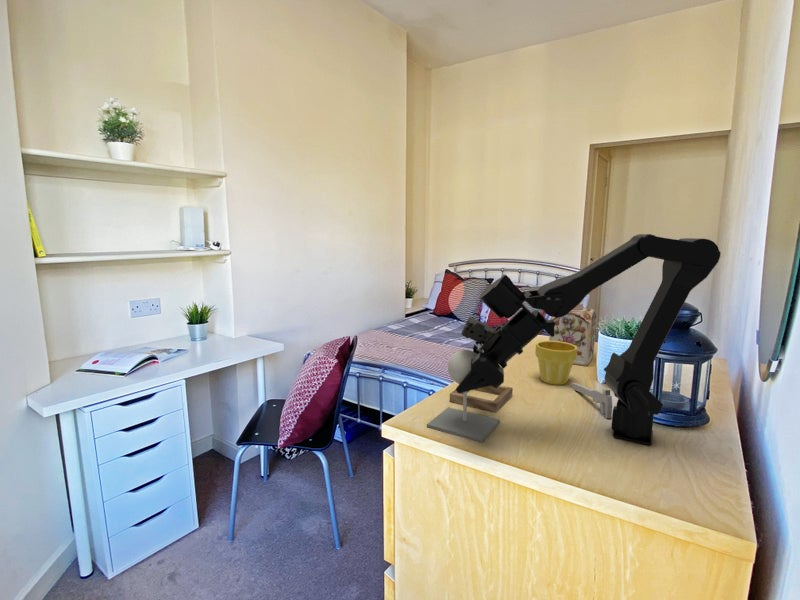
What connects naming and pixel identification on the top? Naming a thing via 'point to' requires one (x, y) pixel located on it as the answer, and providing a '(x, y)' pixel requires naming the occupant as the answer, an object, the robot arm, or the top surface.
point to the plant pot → (555, 360)
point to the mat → (464, 424)
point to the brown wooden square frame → (485, 404)
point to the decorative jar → (577, 332)
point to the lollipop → (461, 371)
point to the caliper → (597, 398)
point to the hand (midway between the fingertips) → (458, 385)
